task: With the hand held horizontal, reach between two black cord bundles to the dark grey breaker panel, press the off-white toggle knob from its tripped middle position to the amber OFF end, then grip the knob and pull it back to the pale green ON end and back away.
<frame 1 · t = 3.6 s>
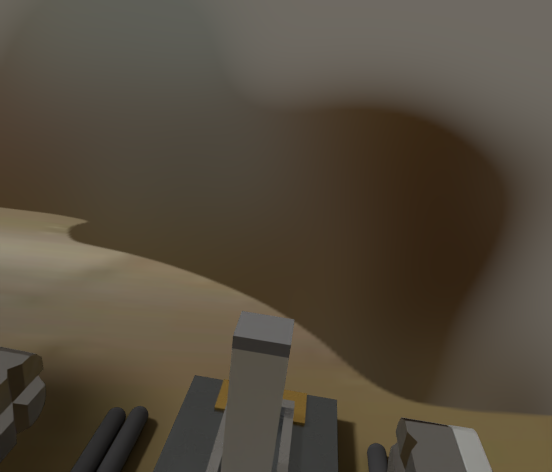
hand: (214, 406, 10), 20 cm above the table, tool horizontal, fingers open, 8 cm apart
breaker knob: (254, 411, 26), point 8 cm above the table, slide at 4.0 cm
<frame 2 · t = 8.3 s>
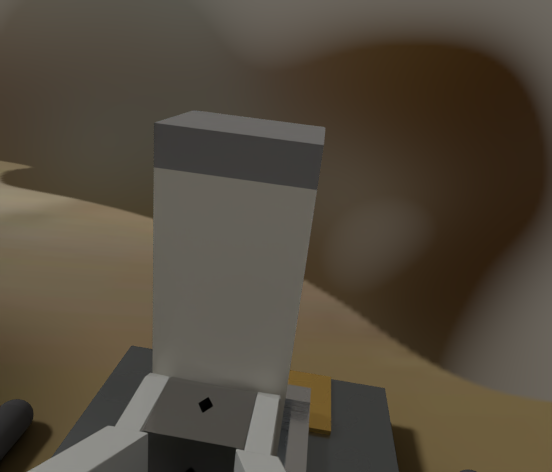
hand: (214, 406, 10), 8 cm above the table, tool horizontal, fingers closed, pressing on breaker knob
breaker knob: (228, 365, 11), point 8 cm above the table, slide at 5.3 cm, touching gripper
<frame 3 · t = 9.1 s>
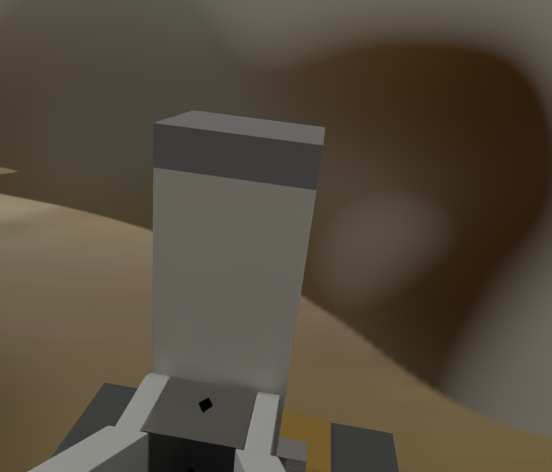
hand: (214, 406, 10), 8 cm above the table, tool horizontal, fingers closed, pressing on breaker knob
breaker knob: (228, 365, 11), point 8 cm above the table, slide at 7.9 cm, touching gripper
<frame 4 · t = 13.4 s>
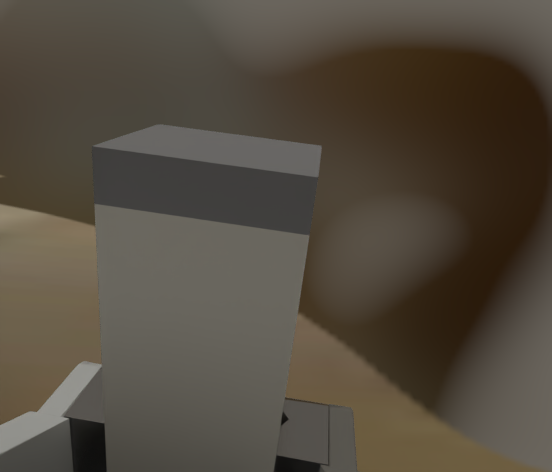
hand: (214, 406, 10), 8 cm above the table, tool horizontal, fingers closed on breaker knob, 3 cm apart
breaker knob: (204, 433, 9), point 8 cm above the table, slide at 8.0 cm, touching gripper
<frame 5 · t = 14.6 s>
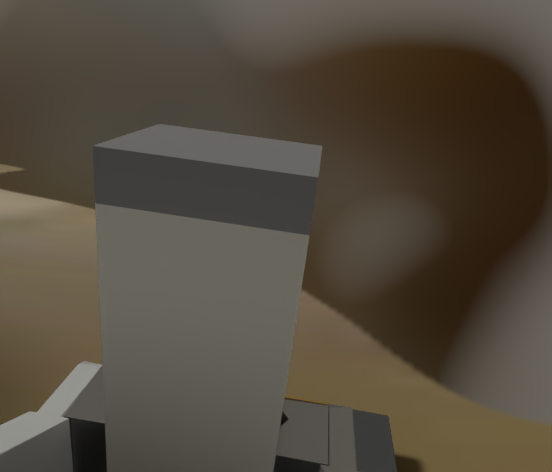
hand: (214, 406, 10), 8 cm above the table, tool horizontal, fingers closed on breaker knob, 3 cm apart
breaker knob: (204, 432, 9), point 8 cm above the table, slide at 4.8 cm, touching gripper
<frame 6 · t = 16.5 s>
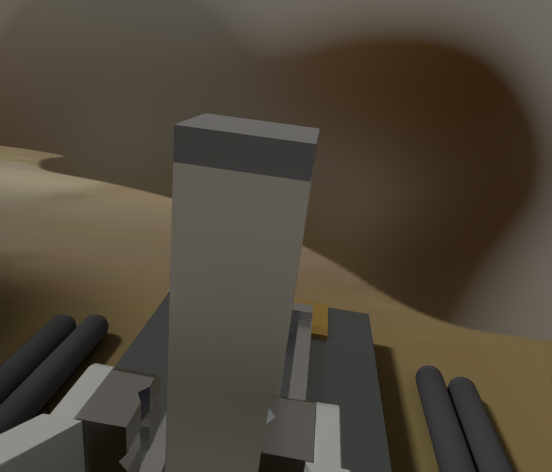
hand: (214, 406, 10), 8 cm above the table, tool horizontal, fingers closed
breaker panel: (238, 438, 19), on the table
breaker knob: (234, 337, 12), point 8 cm above the table, slide at 0.0 cm
cord bundle B: (23, 398, 20), on the table
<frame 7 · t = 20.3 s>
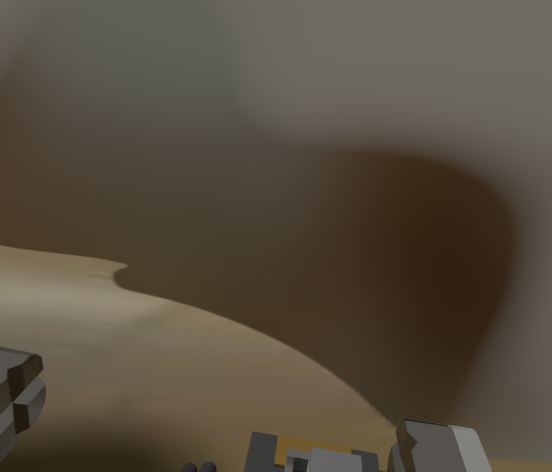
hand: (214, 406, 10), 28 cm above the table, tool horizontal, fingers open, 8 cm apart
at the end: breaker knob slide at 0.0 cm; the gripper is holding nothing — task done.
